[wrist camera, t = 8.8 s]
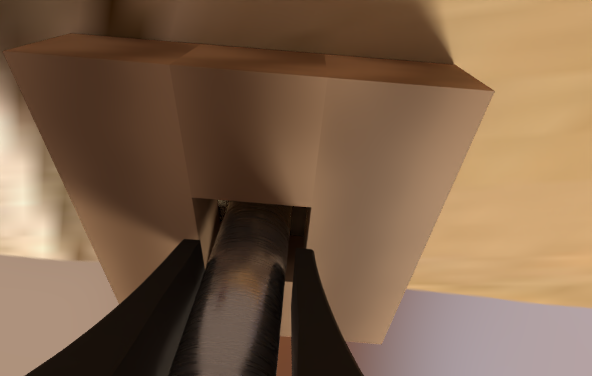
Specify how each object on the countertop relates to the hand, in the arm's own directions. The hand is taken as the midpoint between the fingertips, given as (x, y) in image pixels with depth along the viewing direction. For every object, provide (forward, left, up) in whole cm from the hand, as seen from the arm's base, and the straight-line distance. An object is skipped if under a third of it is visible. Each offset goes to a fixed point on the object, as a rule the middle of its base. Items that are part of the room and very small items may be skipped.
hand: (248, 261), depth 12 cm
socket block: (0, 0, -4) cm, 4 cm away
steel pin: (0, 0, -4) cm, 4 cm away
